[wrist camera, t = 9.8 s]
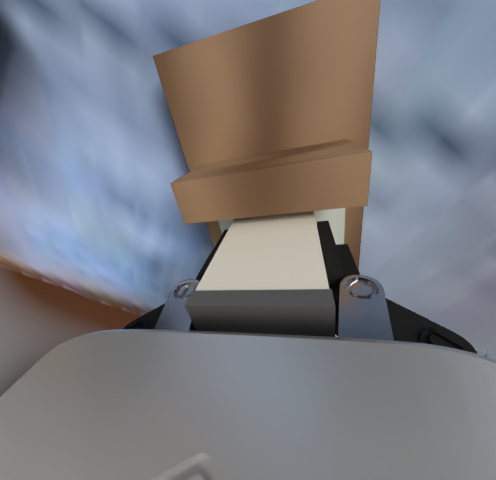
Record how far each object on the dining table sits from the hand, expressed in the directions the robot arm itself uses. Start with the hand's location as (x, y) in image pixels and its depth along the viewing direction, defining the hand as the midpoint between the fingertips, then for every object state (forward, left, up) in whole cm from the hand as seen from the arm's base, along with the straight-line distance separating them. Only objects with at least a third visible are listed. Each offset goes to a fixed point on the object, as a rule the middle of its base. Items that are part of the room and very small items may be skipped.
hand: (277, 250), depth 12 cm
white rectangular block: (0, 0, -1) cm, 1 cm away
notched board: (0, 0, -5) cm, 5 cm away
